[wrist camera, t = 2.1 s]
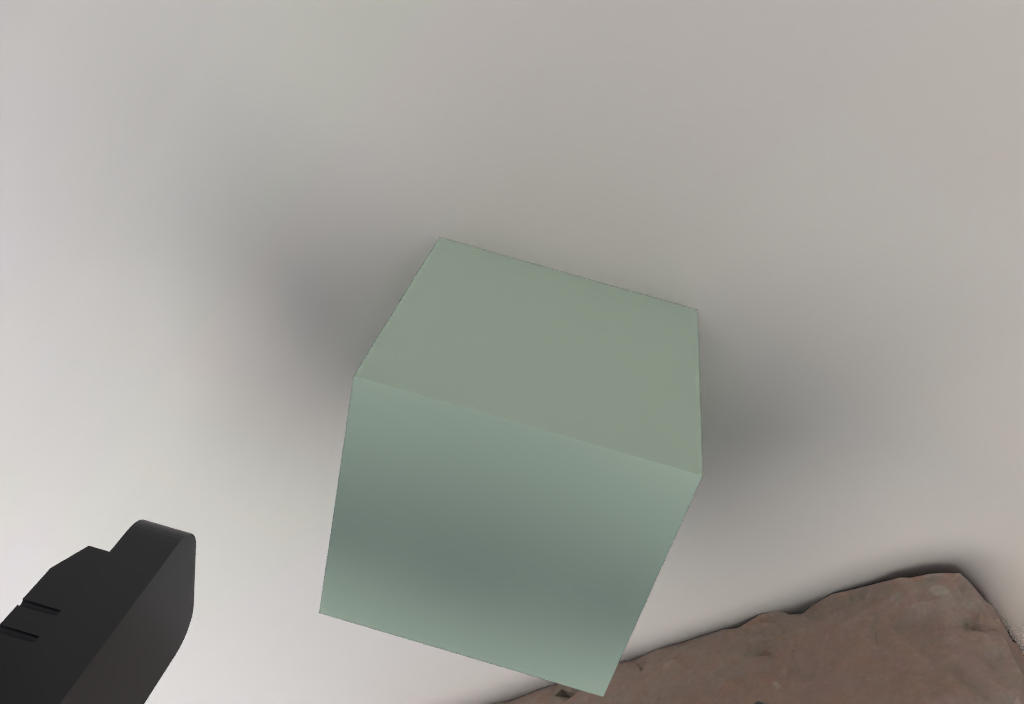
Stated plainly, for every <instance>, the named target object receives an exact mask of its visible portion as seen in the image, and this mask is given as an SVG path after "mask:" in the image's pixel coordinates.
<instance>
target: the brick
mask: <svg viewBox="0 0 1024 704" xmlns="http://www.w3.org/2000/svg"><path fill="white" fill-rule="evenodd" d="M757 701H760V702H763V703H767V704H1024V655H1023V653H1022V651H1021V650H1020V648H1019V646H1018V645H1017V643H1014V642H1013V641H1012V640H1011V638H1010V636H1009V634H1008V632H1007V630H1006V628H1005V626H1004V624H1003V622H1002V620H1001V619H1000V617H999V615H998V614H997V612H996V611H995V609H994V608H993V606H992V604H989V603H987V602H986V601H985V600H984V598H983V597H982V596H981V595H980V594H979V592H978V591H977V590H976V589H975V588H974V586H973V585H972V584H971V583H970V582H969V581H968V580H967V579H966V578H965V577H964V576H963V575H962V574H960V573H935V574H927V575H922V576H916V577H911V578H902V577H900V578H896V579H892V580H888V581H884V582H880V583H877V584H873V585H869V586H865V587H861V588H857V589H853V590H849V591H844V592H839V593H834V594H831V595H829V596H827V597H825V598H823V599H822V600H820V601H819V602H817V603H816V604H814V605H812V606H811V607H809V608H808V609H807V610H806V611H805V612H804V613H799V614H789V613H786V612H783V611H773V612H768V613H764V614H761V615H758V616H757V617H755V618H753V619H752V620H750V621H748V622H747V623H745V624H744V625H742V626H740V627H739V628H732V629H722V630H719V631H716V632H713V633H710V634H707V635H704V636H701V637H697V638H694V639H691V640H688V641H686V642H683V643H680V644H677V645H673V646H668V647H664V648H660V649H657V650H654V651H651V652H649V653H647V654H645V655H643V656H641V657H640V658H638V659H636V660H630V661H625V662H620V663H618V665H617V667H616V669H615V672H614V674H613V676H612V678H611V681H610V683H609V685H608V687H607V689H606V692H605V694H604V696H603V697H602V696H599V695H595V694H592V693H589V692H585V691H582V690H578V689H575V688H572V687H568V686H565V685H562V684H556V685H553V686H549V687H546V688H543V689H540V690H537V691H535V692H532V693H530V694H527V695H525V696H522V697H520V698H517V699H515V700H513V701H505V702H500V703H494V704H754V703H755V702H757Z"/></svg>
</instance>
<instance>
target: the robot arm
mask: <svg viewBox="0 0 1024 704" xmlns="http://www.w3.org/2000/svg"><path fill="white" fill-rule="evenodd" d="M195 555H196V540H195V536H194V535H193V534H191V533H187V532H184V531H181V530H177V529H174V528H170V527H167V526H163V525H160V524H157V523H153V522H150V521H146V520H139V521H137V522H135V523H134V524H133V525H132V526H131V527H130V528H129V529H128V530H127V532H126V533H125V534H124V535H123V536H122V538H121V539H120V540H119V541H118V542H117V544H116V545H115V546H114V547H113V548H112V550H111V551H110V552H108V551H105V550H101V549H98V548H95V547H91V546H88V547H86V548H84V549H82V550H81V551H79V552H77V553H76V554H74V555H72V556H70V557H69V558H67V559H65V560H64V561H62V562H60V563H59V564H57V565H55V566H53V567H52V568H50V569H49V570H48V572H47V573H46V574H45V575H44V576H43V577H42V578H41V579H40V580H39V582H38V583H37V584H36V585H35V586H34V587H33V588H32V589H31V590H30V592H29V593H28V594H27V595H26V596H25V597H24V598H23V601H22V603H21V605H20V606H18V605H17V606H16V607H15V608H14V609H13V611H12V612H11V613H10V614H9V615H8V616H7V617H6V618H5V619H4V621H3V622H2V623H1V624H0V704H144V703H145V702H146V700H147V698H148V697H149V695H150V694H151V692H152V691H153V689H154V687H155V686H156V684H157V683H158V681H159V680H160V678H161V677H162V675H163V673H164V672H165V670H166V669H167V667H168V666H169V664H170V662H171V661H172V659H173V658H174V656H175V655H176V653H177V651H178V650H179V648H180V646H181V644H182V642H183V640H184V638H185V635H186V633H187V630H188V627H189V624H190V621H191V618H192V613H193V606H194V582H195ZM754 704H767V703H763V702H760V701H757V702H755V703H754Z"/></svg>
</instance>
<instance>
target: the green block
mask: <svg viewBox="0 0 1024 704" xmlns="http://www.w3.org/2000/svg"><path fill="white" fill-rule="evenodd" d="M702 476H703V469H702V439H701V408H700V377H699V346H698V315H697V310H696V309H692V308H689V307H685V306H682V305H678V304H675V303H671V302H668V301H664V300H660V299H657V298H653V297H650V296H646V295H643V294H639V293H636V292H632V291H628V290H625V289H621V288H618V287H614V286H611V285H607V284H604V283H600V282H596V281H593V280H589V279H586V278H582V277H579V276H575V275H572V274H568V273H564V272H561V271H557V270H554V269H550V268H547V267H543V266H540V265H536V264H532V263H529V262H525V261H522V260H518V259H515V258H511V257H508V256H504V255H500V254H497V253H493V252H490V251H486V250H483V249H479V248H476V247H472V246H468V245H465V244H461V243H458V242H454V241H451V240H447V239H444V238H440V237H439V239H438V241H437V242H436V244H435V245H434V247H433V249H432V250H431V252H430V254H429V255H428V257H427V258H426V260H425V262H424V263H423V265H422V266H421V268H420V270H419V271H418V273H417V275H416V276H415V278H414V279H413V281H412V283H411V284H410V286H409V287H408V289H407V291H406V292H405V294H404V296H403V297H402V299H401V300H400V302H399V304H398V305H397V307H396V308H395V310H394V312H393V313H392V315H391V317H390V318H389V320H388V321H387V323H386V325H385V326H384V328H383V329H382V331H381V333H380V334H379V336H378V338H377V339H376V341H375V342H374V344H373V346H372V347H371V349H370V350H369V352H368V354H367V355H366V357H365V358H364V360H363V362H362V363H361V365H360V367H359V368H358V370H357V371H356V373H355V375H354V377H353V384H352V391H351V398H350V405H349V412H348V419H347V425H346V432H345V439H344V446H343V453H342V460H341V467H340V473H339V480H338V487H337V494H336V501H335V508H334V514H333V521H332V528H331V535H330V542H329V549H328V556H327V562H326V569H325V576H324V583H323V590H322V597H321V604H320V610H319V613H321V614H324V615H328V616H331V617H335V618H338V619H341V620H345V621H348V622H351V623H355V624H358V625H362V626H365V627H368V628H372V629H375V630H379V631H382V632H385V633H389V634H392V635H396V636H399V637H402V638H406V639H409V640H412V641H416V642H419V643H423V644H426V645H429V646H433V647H436V648H440V649H443V650H446V651H450V652H453V653H457V654H460V655H463V656H467V657H470V658H473V659H477V660H480V661H484V662H487V663H490V664H494V665H497V666H501V667H504V668H507V669H511V670H514V671H518V672H521V673H524V674H528V675H531V676H534V677H538V678H541V679H545V680H548V681H551V682H555V683H558V684H562V685H565V686H568V687H572V688H575V689H578V690H582V691H585V692H589V693H592V694H595V695H599V696H602V697H603V696H604V694H605V692H606V689H607V687H608V685H609V683H610V681H611V678H612V676H613V674H614V672H615V669H616V667H617V665H618V663H619V661H620V658H621V656H622V654H623V652H624V649H625V647H626V645H627V643H628V641H629V638H630V636H631V634H632V632H633V629H634V627H635V625H636V623H637V621H638V618H639V616H640V614H641V612H642V609H643V607H644V605H645V603H646V601H647V598H648V596H649V594H650V592H651V589H652V587H653V585H654V583H655V581H656V578H657V576H658V574H659V572H660V569H661V567H662V565H663V563H664V561H665V558H666V556H667V554H668V552H669V549H670V547H671V545H672V543H673V541H674V538H675V536H676V534H677V532H678V529H679V527H680V525H681V523H682V521H683V518H684V516H685V514H686V512H687V509H688V507H689V505H690V503H691V501H692V498H693V496H694V494H695V492H696V489H697V487H698V485H699V483H700V481H701V478H702Z"/></svg>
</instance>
